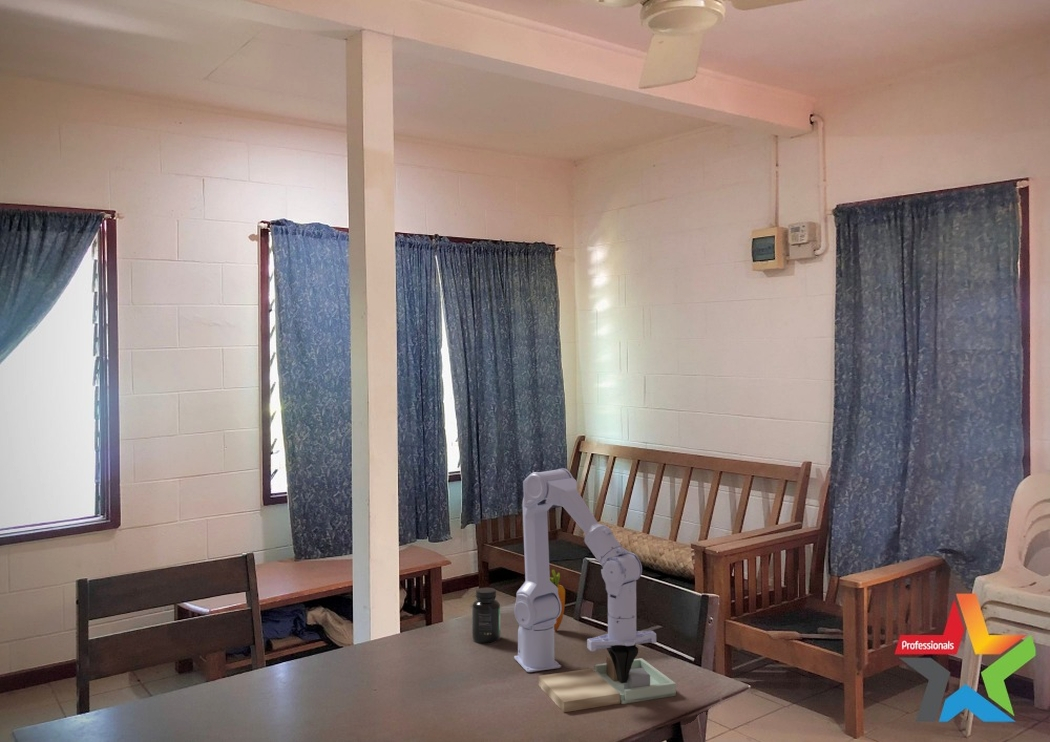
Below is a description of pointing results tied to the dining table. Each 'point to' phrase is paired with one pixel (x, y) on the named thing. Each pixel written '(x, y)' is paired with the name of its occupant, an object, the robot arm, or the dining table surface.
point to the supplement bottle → (486, 617)
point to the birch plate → (578, 690)
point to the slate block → (637, 679)
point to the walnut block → (610, 669)
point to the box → (657, 688)
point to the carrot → (561, 596)
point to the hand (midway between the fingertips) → (622, 681)
